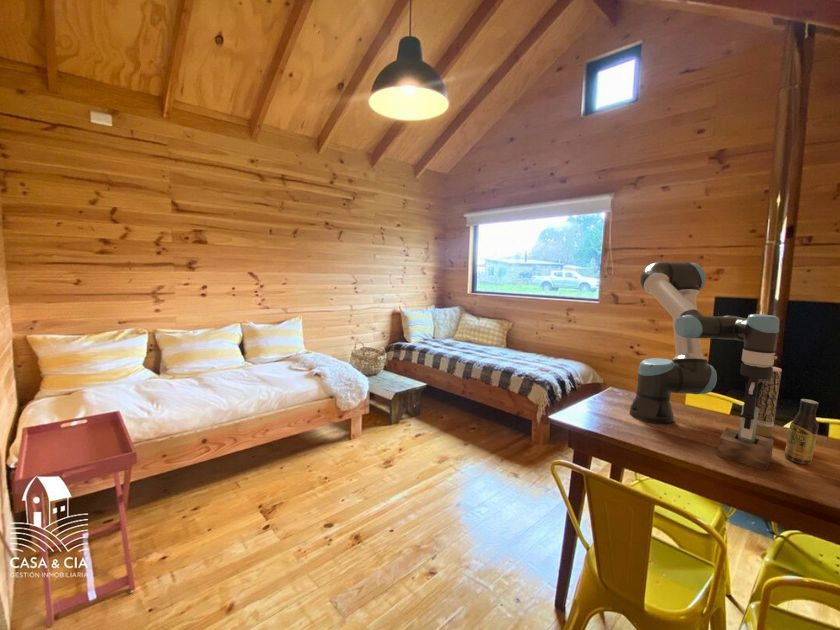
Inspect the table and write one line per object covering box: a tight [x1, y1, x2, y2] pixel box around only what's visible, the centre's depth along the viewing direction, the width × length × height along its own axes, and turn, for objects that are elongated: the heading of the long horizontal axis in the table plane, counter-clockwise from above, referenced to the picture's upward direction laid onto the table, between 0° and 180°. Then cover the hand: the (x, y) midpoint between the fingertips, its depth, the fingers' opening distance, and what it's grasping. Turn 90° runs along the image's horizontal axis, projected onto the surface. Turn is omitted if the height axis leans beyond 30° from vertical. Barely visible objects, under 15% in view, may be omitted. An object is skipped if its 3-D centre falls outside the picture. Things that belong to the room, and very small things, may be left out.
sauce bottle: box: [784, 398, 820, 465], centre depth 121 cm, size 6×6×20 cm
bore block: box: [716, 427, 775, 471], centre depth 123 cm, size 12×12×6 cm
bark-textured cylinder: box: [755, 365, 783, 438], centre depth 140 cm, size 7×7×25 cm
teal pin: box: [738, 404, 759, 444], centre depth 123 cm, size 4×4×14 cm
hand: (747, 435), depth 123 cm, fingers closed on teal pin, 4 cm apart
